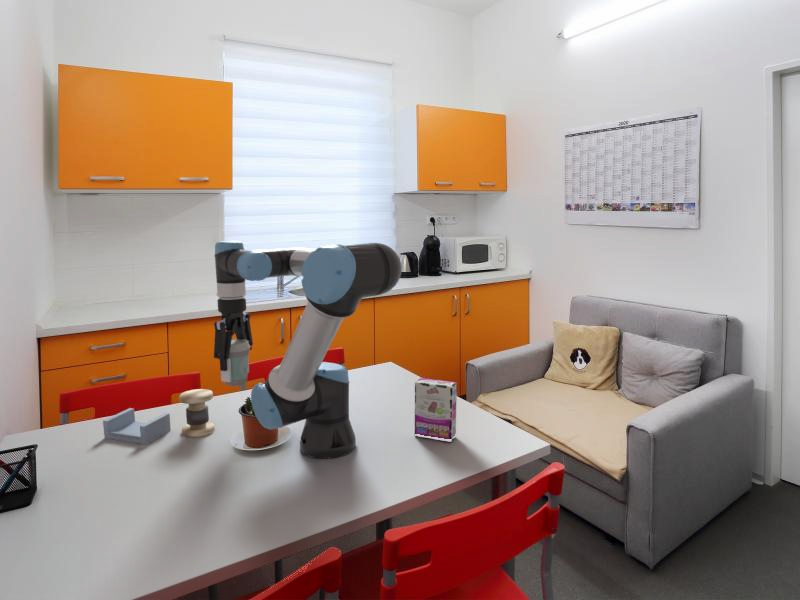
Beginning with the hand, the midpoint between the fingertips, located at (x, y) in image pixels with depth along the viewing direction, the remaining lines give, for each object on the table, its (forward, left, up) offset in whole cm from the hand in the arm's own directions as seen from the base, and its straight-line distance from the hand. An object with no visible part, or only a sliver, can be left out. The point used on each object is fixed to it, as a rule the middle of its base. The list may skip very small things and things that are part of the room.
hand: (235, 376), depth 154 cm
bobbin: (+12, +2, -17) cm, 21 cm away
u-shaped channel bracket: (+27, +9, -17) cm, 33 cm away
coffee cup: (0, 0, -2) cm, 2 cm away
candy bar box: (-55, -15, -17) cm, 59 cm away
